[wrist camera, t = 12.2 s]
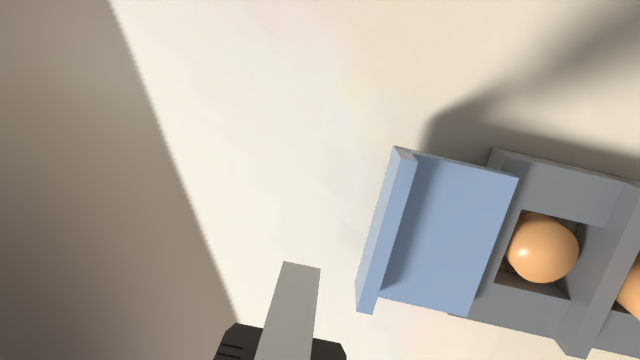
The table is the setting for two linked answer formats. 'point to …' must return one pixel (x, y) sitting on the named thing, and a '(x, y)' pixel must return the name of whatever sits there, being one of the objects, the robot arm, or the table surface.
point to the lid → (432, 232)
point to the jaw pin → (631, 290)
